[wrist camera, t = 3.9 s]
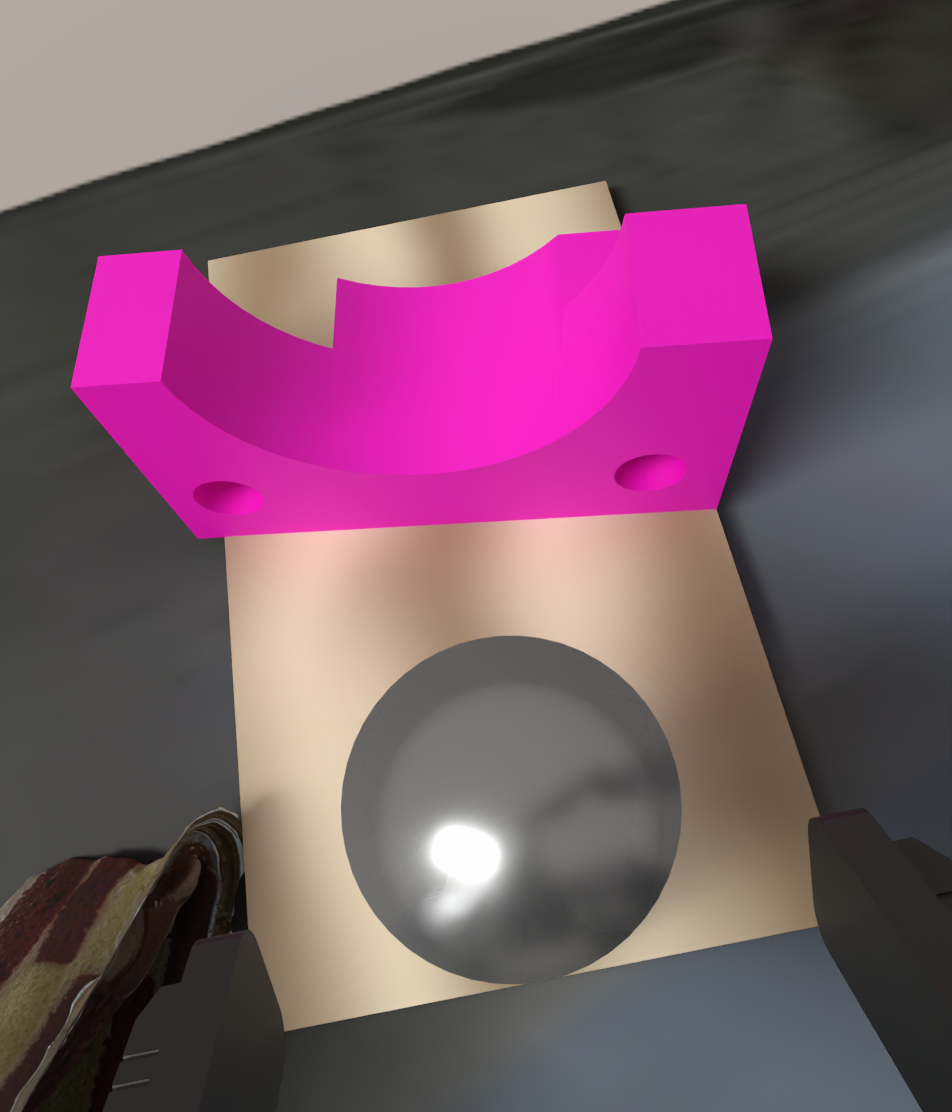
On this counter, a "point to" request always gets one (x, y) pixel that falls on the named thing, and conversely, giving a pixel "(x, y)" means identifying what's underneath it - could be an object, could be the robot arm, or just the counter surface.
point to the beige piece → (495, 709)
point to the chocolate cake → (103, 959)
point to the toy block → (442, 385)
